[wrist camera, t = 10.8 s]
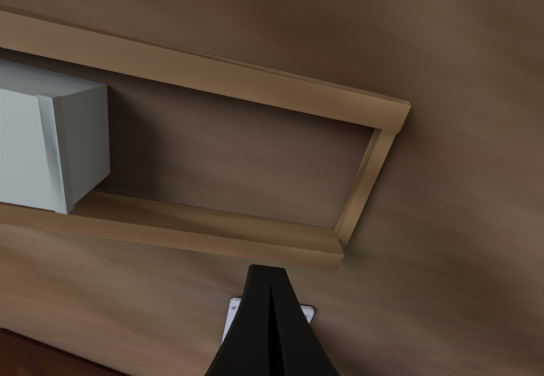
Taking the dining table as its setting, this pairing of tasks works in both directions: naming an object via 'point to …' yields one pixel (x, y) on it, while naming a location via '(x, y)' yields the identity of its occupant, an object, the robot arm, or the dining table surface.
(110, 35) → the bay
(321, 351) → the robot arm
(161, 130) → the dining table surface
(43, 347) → the diary
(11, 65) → the box
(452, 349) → the dining table surface
